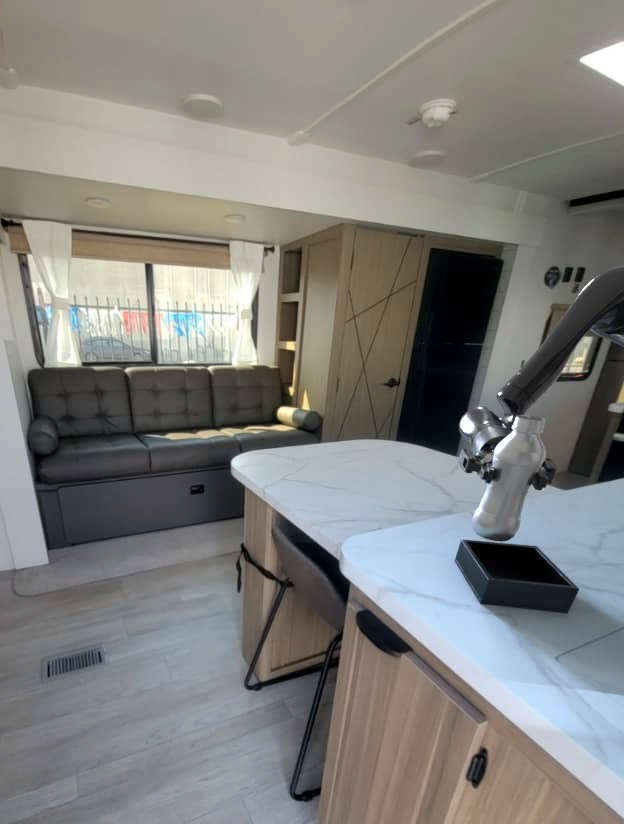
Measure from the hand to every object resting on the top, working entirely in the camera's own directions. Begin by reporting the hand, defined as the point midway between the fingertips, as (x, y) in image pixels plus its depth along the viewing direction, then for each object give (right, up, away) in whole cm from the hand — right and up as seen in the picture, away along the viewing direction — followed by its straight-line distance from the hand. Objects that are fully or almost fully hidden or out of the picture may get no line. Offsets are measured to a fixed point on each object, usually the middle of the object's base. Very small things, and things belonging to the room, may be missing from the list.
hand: (514, 480), depth 61 cm
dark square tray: (+3, -17, +6) cm, 18 cm away
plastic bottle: (+1, -9, +7) cm, 11 cm away
